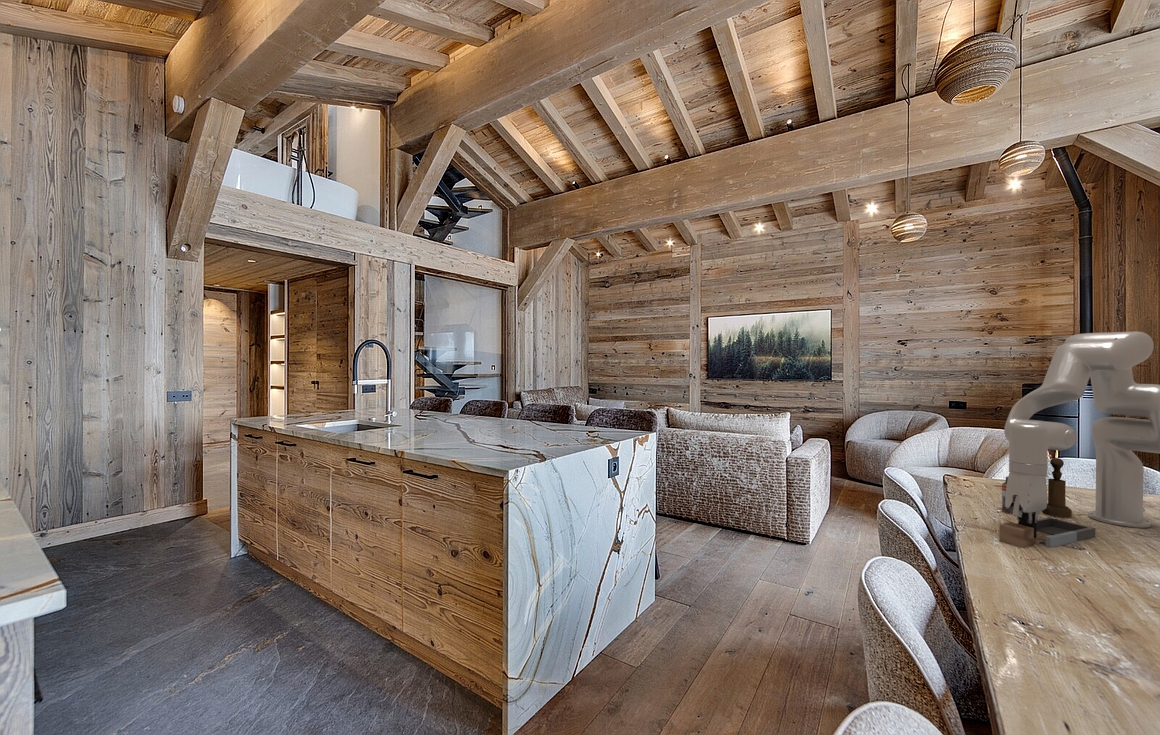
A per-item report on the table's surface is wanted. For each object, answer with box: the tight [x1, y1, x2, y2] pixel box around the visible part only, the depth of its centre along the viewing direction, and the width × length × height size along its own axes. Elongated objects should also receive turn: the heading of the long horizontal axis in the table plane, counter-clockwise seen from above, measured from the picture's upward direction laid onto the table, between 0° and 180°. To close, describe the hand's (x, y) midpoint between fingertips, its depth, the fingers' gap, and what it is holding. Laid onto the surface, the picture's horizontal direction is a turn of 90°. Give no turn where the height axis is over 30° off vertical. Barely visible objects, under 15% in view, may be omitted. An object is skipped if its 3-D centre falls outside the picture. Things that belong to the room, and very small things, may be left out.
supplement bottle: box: [1001, 475, 1023, 515], centre depth 150 cm, size 6×6×11 cm
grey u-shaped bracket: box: [1015, 516, 1097, 549], centre depth 130 cm, size 21×10×2 cm, turn 110°
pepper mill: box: [1042, 457, 1073, 519], centre depth 148 cm, size 7×6×18 cm
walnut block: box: [998, 521, 1035, 549], centre depth 125 cm, size 5×5×4 cm
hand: (1027, 536), depth 126 cm, fingers closed
